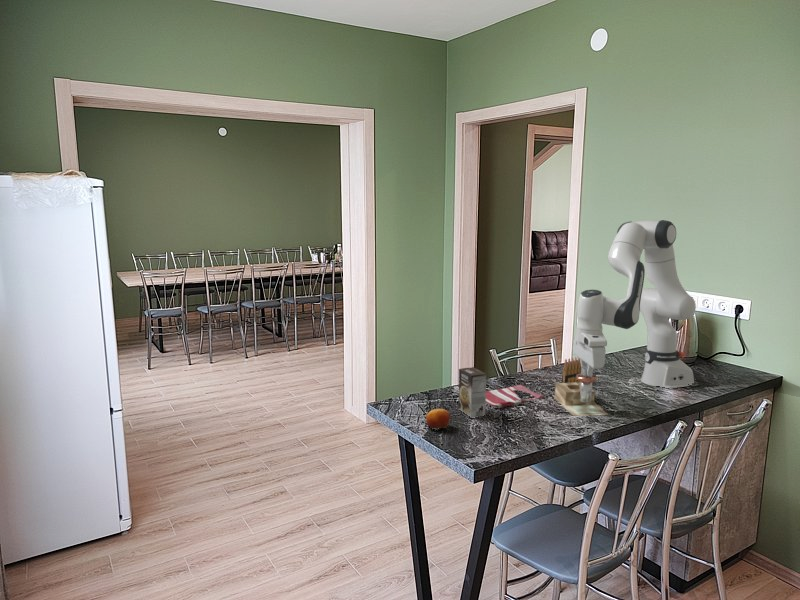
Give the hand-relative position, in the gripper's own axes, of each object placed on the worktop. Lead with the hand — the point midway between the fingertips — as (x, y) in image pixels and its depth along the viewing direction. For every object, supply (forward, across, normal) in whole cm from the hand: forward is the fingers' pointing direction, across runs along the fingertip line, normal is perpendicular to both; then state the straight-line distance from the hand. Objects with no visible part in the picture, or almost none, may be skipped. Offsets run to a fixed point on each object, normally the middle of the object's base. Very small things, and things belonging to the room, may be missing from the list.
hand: (586, 373), depth 213 cm
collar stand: (+15, -6, 0) cm, 16 cm away
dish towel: (+16, -18, -24) cm, 34 cm away
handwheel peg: (+10, 0, 0) cm, 10 cm away
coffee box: (+15, -3, -41) cm, 44 cm away
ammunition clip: (+15, -31, +7) cm, 35 cm away
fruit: (+15, +9, -55) cm, 58 cm away
